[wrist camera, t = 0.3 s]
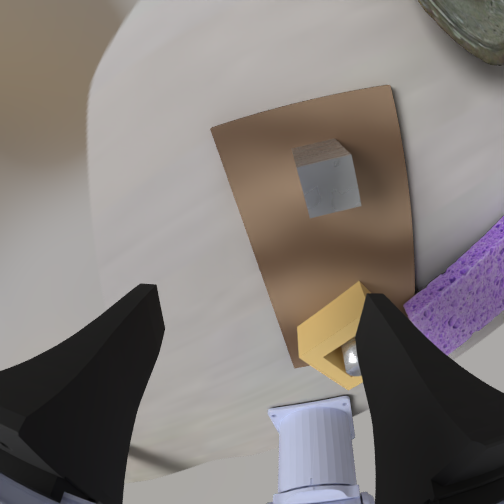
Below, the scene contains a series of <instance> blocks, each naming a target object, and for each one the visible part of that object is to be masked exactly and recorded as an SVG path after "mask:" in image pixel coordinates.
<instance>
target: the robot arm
mask: <svg viewBox="0 0 504 504" xmlns="http://www.w3.org/2000/svg"><path fill="white" fill-rule="evenodd" d="M164 331H165V326H164V321H163V316H162V311H161V306H160V301H159V296H158V291H157V285H154V284H139V285H138V286H136V287H135V288H134V289H133V290H131V291H130V292H129V293H127V294H126V295H125V296H124V297H123V298H121V299H120V300H119V301H118V302H116V303H115V304H114V305H113V306H111V307H110V308H109V309H108V310H106V311H105V312H104V313H103V314H102V315H101V316H99V317H98V318H96V319H95V320H94V321H92V322H91V323H90V324H88V325H87V326H85V327H84V328H83V329H81V330H80V331H79V332H77V333H76V334H74V335H73V336H71V337H70V338H68V339H66V340H65V341H63V342H62V343H60V344H58V345H57V346H55V347H53V348H51V349H49V350H47V351H45V352H43V353H42V354H40V355H38V356H36V357H34V358H32V359H30V360H28V361H25V362H23V363H21V364H18V365H16V366H13V367H11V368H8V369H5V370H2V371H0V504H122V502H123V501H122V500H123V489H124V479H125V471H126V464H127V457H128V452H129V446H130V441H131V436H132V431H133V427H134V423H135V418H136V414H137V411H138V407H139V404H140V401H141V399H142V396H143V393H144V391H145V388H146V386H147V383H148V380H149V378H150V375H151V373H152V370H153V368H154V365H155V362H156V360H157V357H158V355H159V352H160V348H161V344H162V340H163V336H164ZM355 341H356V350H357V357H358V364H359V368H360V372H361V376H362V380H363V384H364V388H365V392H366V396H367V400H368V404H369V409H370V413H371V419H372V424H373V434H374V446H375V465H376V494H375V495H376V496H375V501H374V498H373V496H371V495H370V494H368V493H367V492H362V493H360V491H359V485H357V483H356V473H355V465H354V456H353V448H352V439H354V438H355V433H354V426H353V418H352V411H351V404H350V398H349V397H348V396H341V397H336V398H331V399H326V400H320V401H315V402H309V403H303V404H297V405H290V406H284V407H276V408H270V409H269V410H268V415H269V417H270V418H271V420H272V422H273V424H274V426H275V427H276V429H277V431H278V433H279V474H278V494H274V495H273V502H268V503H267V504H504V393H502V392H500V391H499V390H497V389H495V388H493V387H491V386H489V385H488V384H486V383H485V382H483V381H481V380H480V379H478V378H477V377H475V376H474V375H472V374H471V373H469V372H468V371H467V370H465V369H464V368H462V367H461V366H459V365H458V364H457V363H456V362H455V361H453V360H452V359H451V358H450V357H448V356H447V355H446V354H445V353H443V352H442V351H441V350H440V349H439V348H438V347H437V346H436V345H434V344H433V343H432V342H431V341H430V340H429V339H428V338H427V337H426V336H425V335H424V334H423V333H422V332H421V331H420V330H419V329H418V328H417V327H416V326H415V325H414V324H413V323H412V322H411V321H410V320H409V319H408V318H407V317H406V316H405V315H404V314H403V313H402V312H401V311H400V310H399V309H398V308H397V307H396V306H395V305H394V304H393V303H392V302H391V301H390V300H389V299H388V298H387V297H386V296H385V295H384V294H383V293H367V294H366V298H365V302H364V306H363V310H362V314H361V317H360V321H359V325H358V328H357V332H356V335H355Z"/></svg>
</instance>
